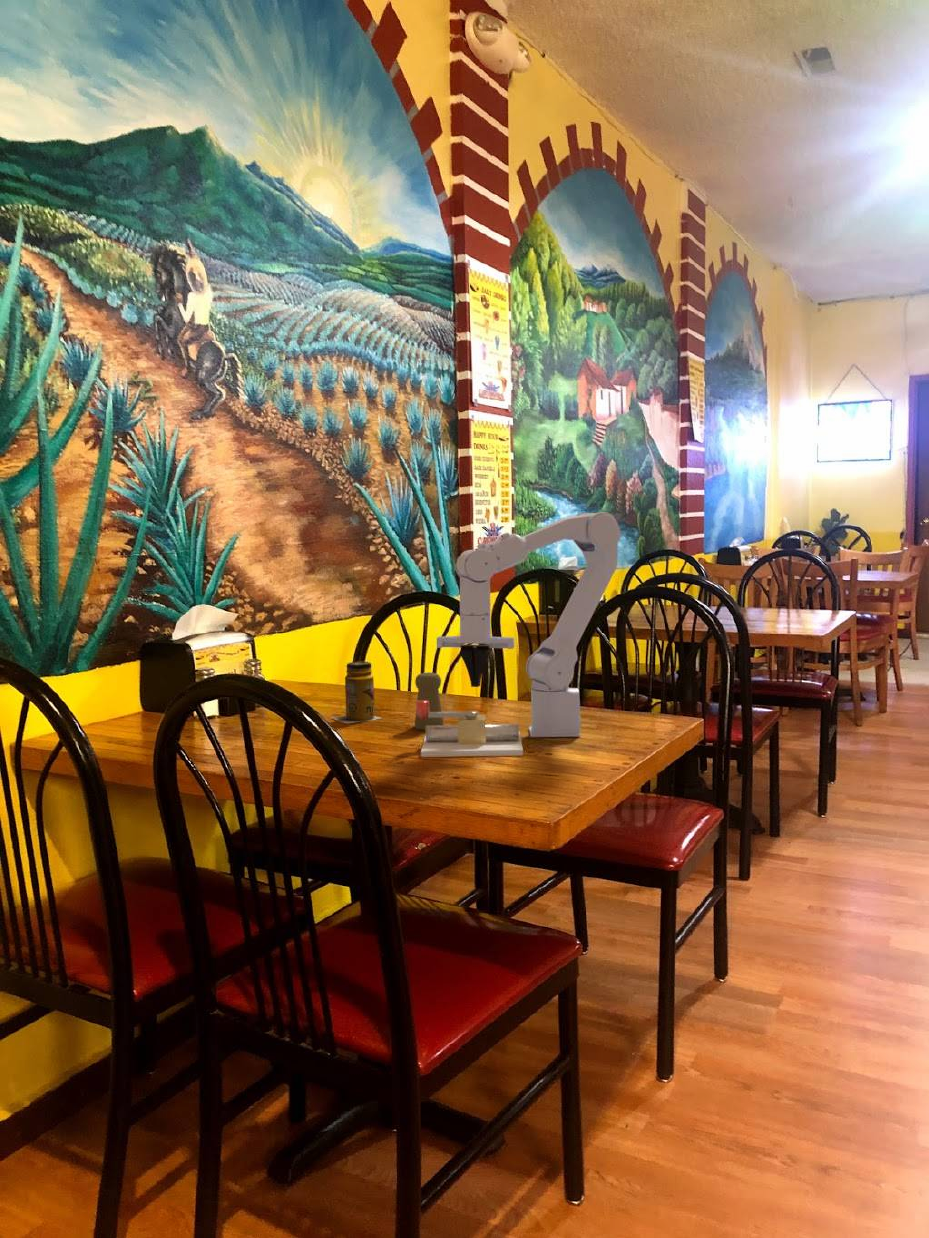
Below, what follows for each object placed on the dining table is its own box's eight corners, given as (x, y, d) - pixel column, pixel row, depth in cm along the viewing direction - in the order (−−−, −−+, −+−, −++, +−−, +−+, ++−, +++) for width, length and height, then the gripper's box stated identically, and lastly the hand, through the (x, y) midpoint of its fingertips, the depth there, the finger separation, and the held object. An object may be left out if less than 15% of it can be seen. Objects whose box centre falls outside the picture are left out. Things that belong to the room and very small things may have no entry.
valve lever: (478, 715, 179) (478, 699, 179) (478, 718, 177) (477, 702, 176) (417, 716, 179) (416, 700, 179) (415, 718, 177) (415, 702, 177)
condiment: (382, 719, 205) (380, 663, 204) (347, 724, 200) (345, 667, 199) (365, 714, 211) (363, 659, 210) (330, 719, 206) (328, 663, 205)
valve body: (518, 737, 181) (517, 714, 180) (518, 743, 176) (518, 719, 175) (427, 738, 181) (426, 715, 180) (425, 744, 176) (424, 721, 175)
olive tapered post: (440, 730, 193) (439, 675, 192) (411, 729, 194) (409, 675, 193) (447, 723, 199) (445, 670, 198) (418, 723, 200) (417, 670, 199)
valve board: (519, 736, 186) (519, 731, 185) (522, 755, 171) (522, 749, 171) (426, 738, 186) (426, 732, 186) (421, 756, 171) (420, 751, 171)
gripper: (516, 612, 183) (517, 683, 185) (442, 611, 186) (442, 681, 187) (511, 616, 176) (511, 689, 178) (433, 615, 179) (434, 687, 181)
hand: (475, 686), depth 182 cm, fingers closed
